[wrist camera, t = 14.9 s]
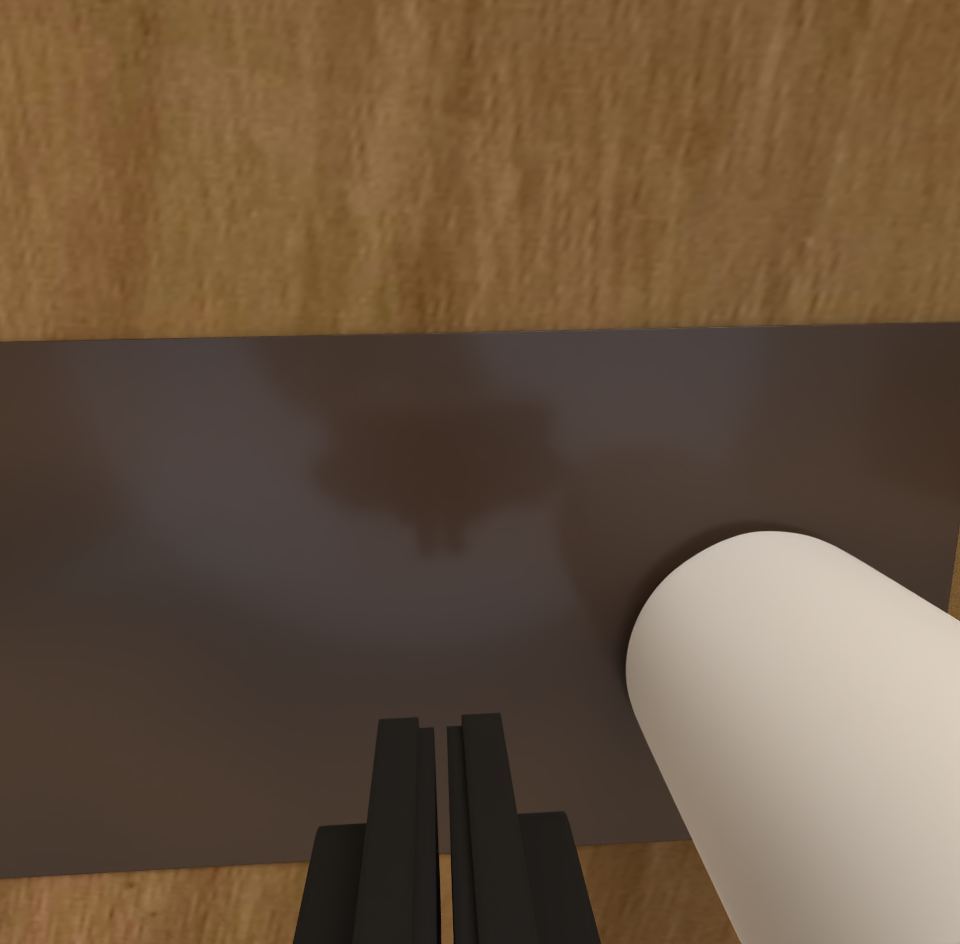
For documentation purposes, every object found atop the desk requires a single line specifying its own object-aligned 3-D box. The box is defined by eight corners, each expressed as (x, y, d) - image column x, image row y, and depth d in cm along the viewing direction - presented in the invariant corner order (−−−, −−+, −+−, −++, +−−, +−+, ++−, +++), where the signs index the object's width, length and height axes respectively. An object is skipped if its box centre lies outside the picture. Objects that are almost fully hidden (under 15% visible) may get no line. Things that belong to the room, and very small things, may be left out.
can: (842, 481, 17) (1753, 895, 5) (910, 711, 18) (1734, 1433, 7) (581, 587, 17) (890, 1211, 5) (669, 805, 19) (1059, 1658, 7)
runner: (-659, 355, 15) (-667, 356, 14) (984, 321, 16) (988, 321, 16) (-455, 900, 18) (-460, 904, 18) (915, 824, 19) (917, 826, 19)
